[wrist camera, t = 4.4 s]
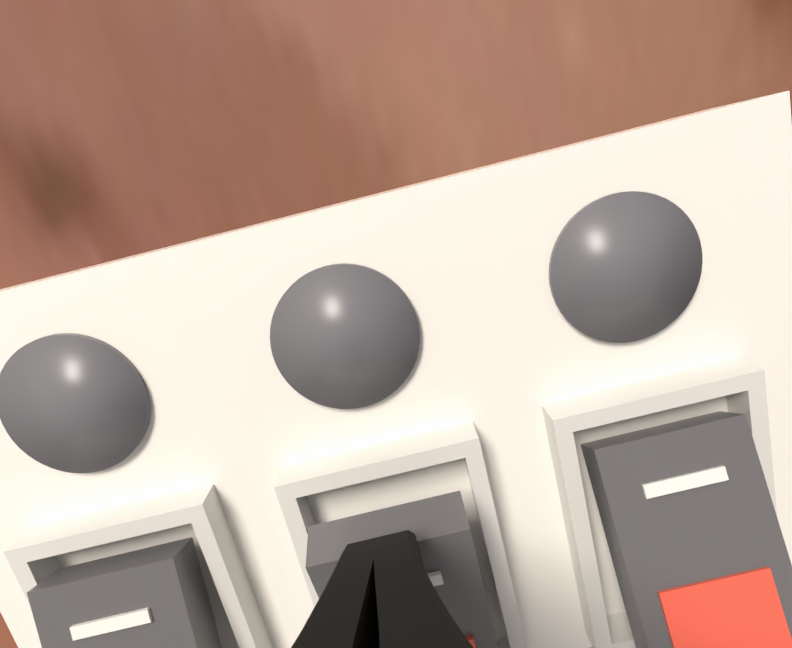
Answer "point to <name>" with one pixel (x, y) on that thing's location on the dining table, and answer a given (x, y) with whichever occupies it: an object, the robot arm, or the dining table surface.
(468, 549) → the rocker middle
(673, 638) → the rocker
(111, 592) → the rocker
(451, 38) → the dining table surface
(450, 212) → the rocker switch panel
